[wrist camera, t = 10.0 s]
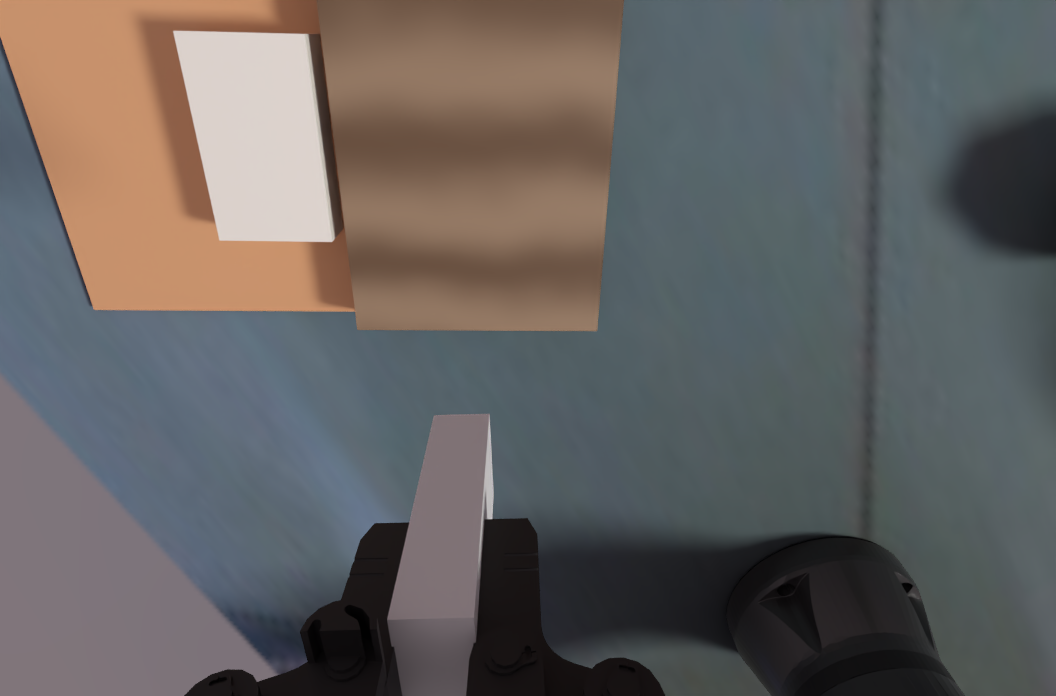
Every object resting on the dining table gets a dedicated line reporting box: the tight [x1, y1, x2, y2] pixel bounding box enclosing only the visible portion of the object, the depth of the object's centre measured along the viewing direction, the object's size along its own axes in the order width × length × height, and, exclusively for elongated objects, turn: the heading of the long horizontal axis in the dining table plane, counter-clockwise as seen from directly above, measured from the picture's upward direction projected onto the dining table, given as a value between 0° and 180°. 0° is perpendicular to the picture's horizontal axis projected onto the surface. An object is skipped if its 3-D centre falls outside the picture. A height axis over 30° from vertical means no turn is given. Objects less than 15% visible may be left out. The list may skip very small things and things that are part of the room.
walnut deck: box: [317, 0, 624, 331], centre depth 32 cm, size 20×14×3 cm
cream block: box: [173, 31, 343, 242], centre depth 31 cm, size 10×6×2 cm, turn 179°
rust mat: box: [0, 0, 355, 311], centre depth 33 cm, size 20×16×1 cm
